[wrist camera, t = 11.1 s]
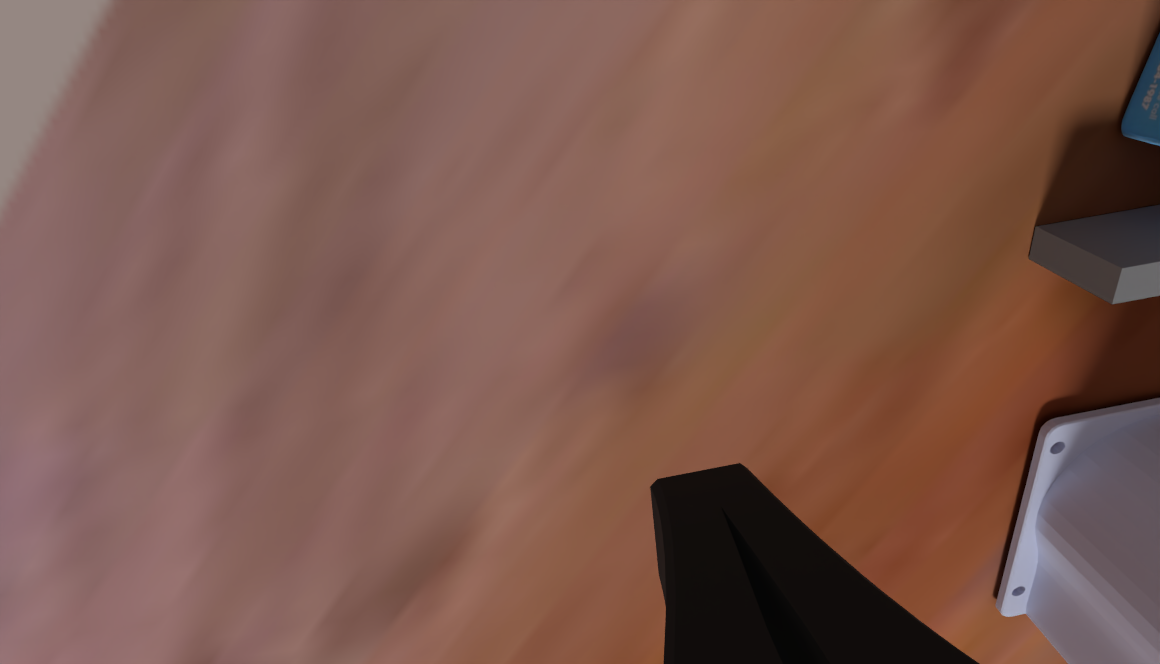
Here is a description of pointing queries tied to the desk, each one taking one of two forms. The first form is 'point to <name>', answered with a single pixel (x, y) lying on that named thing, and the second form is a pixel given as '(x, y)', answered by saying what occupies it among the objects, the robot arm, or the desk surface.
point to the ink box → (1145, 103)
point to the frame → (1105, 253)
